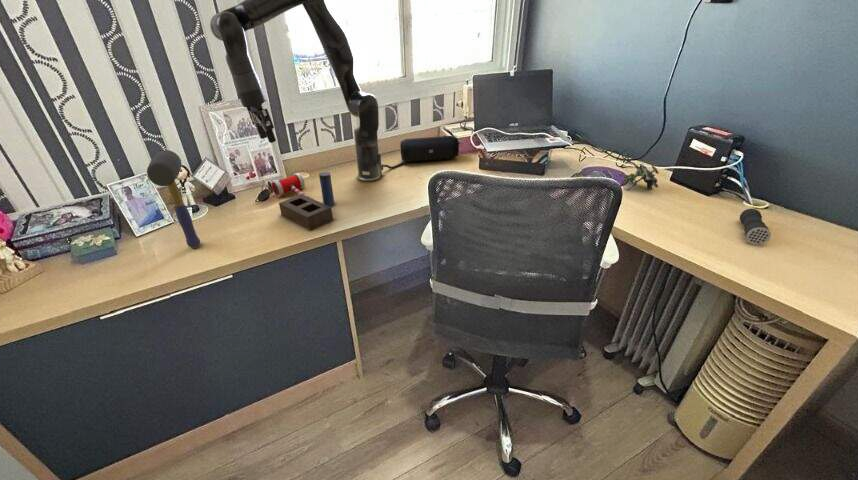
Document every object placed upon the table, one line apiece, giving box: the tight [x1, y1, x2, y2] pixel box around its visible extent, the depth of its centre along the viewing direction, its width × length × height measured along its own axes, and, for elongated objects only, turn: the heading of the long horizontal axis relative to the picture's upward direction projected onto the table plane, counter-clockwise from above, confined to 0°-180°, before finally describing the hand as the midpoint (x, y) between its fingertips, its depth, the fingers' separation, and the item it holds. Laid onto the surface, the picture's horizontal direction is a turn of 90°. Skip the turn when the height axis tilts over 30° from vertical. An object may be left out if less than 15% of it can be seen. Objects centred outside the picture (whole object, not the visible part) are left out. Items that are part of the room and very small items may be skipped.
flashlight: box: [739, 208, 772, 246], centre depth 127 cm, size 15×5×5 cm, turn 154°
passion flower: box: [619, 163, 659, 190], centre depth 155 cm, size 11×11×12 cm
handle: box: [318, 171, 335, 208], centre depth 153 cm, size 4×4×12 cm
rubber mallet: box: [146, 149, 201, 249], centre depth 126 cm, size 12×8×30 cm, turn 14°
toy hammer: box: [270, 172, 310, 198], centre depth 160 cm, size 23×12×6 cm, turn 43°
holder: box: [278, 194, 334, 231], centre depth 147 cm, size 10×18×5 cm, turn 46°
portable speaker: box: [399, 135, 460, 163], centre depth 188 cm, size 26×10×10 cm, turn 96°
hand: (268, 140), depth 139 cm, fingers open, 8 cm apart
